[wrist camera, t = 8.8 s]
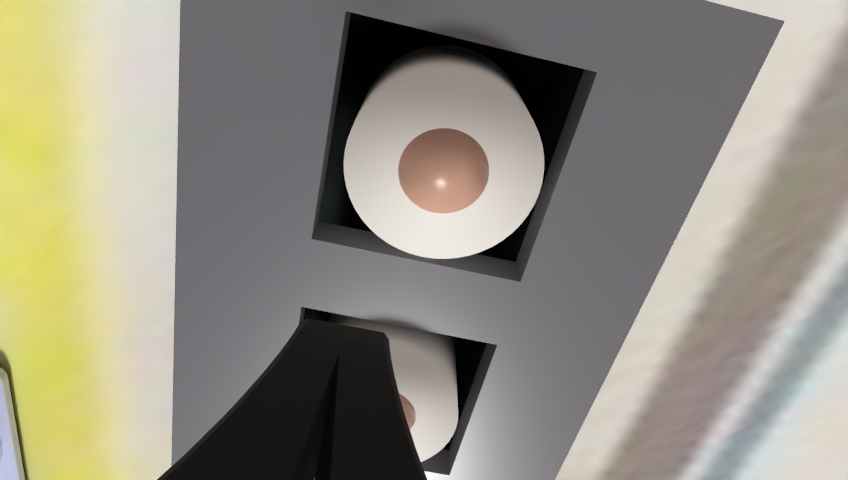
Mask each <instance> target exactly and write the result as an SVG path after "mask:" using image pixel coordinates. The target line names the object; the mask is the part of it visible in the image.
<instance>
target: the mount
mask: <svg viewBox="0 0 848 480" xmlns="http://www.w3.org/2000/svg"><path fill="white" fill-rule="evenodd" d="M351 12H352V13H356V14H360V15H364V16H368V17H372V18H376V19H380V20H384V21H389V22H393V23H397V24H401V25H405V26H409V27H413V28H417V29H421V30H426V31H430V32H434V33H438V34H442V35H446V36H450V37H454V38H458V39H463V40H467V41H471V42H475V43H479V44H483V45H487V46H491V47H495V48H500V49H504V50H508V51H512V52H516V53H520V54H524V55H528V56H532V57H536V58H541V59H545V60H549V61H553V62H557V63H561V64H565V65H569V66H573V67H578V68H582V69H584V71H583V74H582V76H581V79H580V82H579V85H578V88H577V90H576V93H575V96H574V99H573V102H572V105H571V107H570V110H569V113H568V116H567V119H566V121H565V124H564V127H563V130H562V133H561V136H560V138H559V141H558V144H557V147H556V150H555V152H554V155H553V158H552V161H551V164H550V167H549V169H548V172H547V175H546V178H545V181H544V183H543V186H542V189H541V192H540V195H539V198H538V200H537V203H536V206H535V209H534V212H533V214H532V217H531V220H530V223H529V226H528V229H527V231H526V234H525V237H524V240H523V243H522V245H521V248H520V251H519V254H518V257H517V259H516V262H513V261H508V260H503V259H498V258H493V257H489V256H484V255H479V254H473V255H470V256H465V257H460V258H451V259H433V258H426V257H421V256H417V255H413V254H409V253H407V252H404V251H402V250H399V249H397V248H395V247H394V246H392V245H390V244H388V243H387V242H385V241H384V240H382V239H381V238H380V237H378V236H377V235H376V234H375V233H374V232H369V231H364V230H359V229H354V228H350V227H345V226H340V225H335V224H331V223H326V222H321V221H319V217H320V211H321V204H322V198H323V191H324V185H325V178H326V172H327V165H328V159H329V152H330V146H331V139H332V133H333V126H334V120H335V113H336V107H337V101H338V94H339V88H340V81H341V75H342V68H343V62H344V55H345V49H346V42H347V36H348V29H349V23H350V16H351ZM783 23H784V21H781V20H778V19H774V18H770V17H766V16H762V15H758V14H755V13H751V12H747V11H743V10H739V9H735V8H732V7H728V6H724V5H720V4H716V3H712V2H708V1H705V0H181V4H180V56H179V108H178V161H177V213H176V265H175V317H174V370H173V422H172V466H173V465H174V464H175V463H176V462H177V461H178V460H179V459H180V458H181V457H183V456H184V455H185V454H186V453H187V452H188V451H189V450H190V449H191V448H192V447H193V446H194V445H195V444H196V443H197V442H198V441H199V440H200V439H201V438H202V437H203V436H204V435H205V434H206V433H207V432H208V431H209V430H210V429H211V428H212V427H213V426H214V425H215V424H216V423H217V422H218V421H219V420H220V419H221V418H222V417H223V416H224V415H225V414H226V413H227V412H228V411H229V410H230V409H231V408H232V407H233V406H234V405H235V404H236V402H237V401H238V400H239V399H240V398H241V397H242V396H243V395H244V393H245V392H246V391H247V390H248V389H249V388H250V387H251V386H252V385H253V383H254V382H255V381H256V380H257V379H258V378H259V377H260V376H261V374H262V373H263V372H264V371H265V370H266V368H267V367H268V366H269V365H270V364H271V362H272V361H273V360H274V359H275V357H276V356H277V355H278V354H279V352H280V351H281V350H282V348H283V347H284V346H285V344H286V343H287V342H288V340H289V339H290V337H291V336H292V335H293V333H294V332H295V330H296V328H297V327H298V325H299V323H300V322H302V321H304V314H305V308H310V309H315V310H320V311H325V312H330V313H336V314H341V315H346V316H351V317H356V318H361V319H366V320H372V321H377V322H382V323H387V324H392V325H397V326H402V327H408V328H413V329H418V330H423V331H428V332H433V333H438V334H444V335H449V336H454V337H459V338H464V339H469V340H474V341H480V342H485V343H487V344H486V347H485V350H484V352H483V355H482V358H481V361H480V364H479V367H478V369H477V372H476V375H475V378H474V381H473V383H472V386H471V389H470V392H469V395H468V398H467V400H466V403H465V406H464V409H463V412H462V414H461V417H460V420H459V423H458V426H457V429H456V431H455V434H454V437H453V440H452V443H451V445H450V448H449V450H445V449H442V450H440V451H439V452H438V453H437V454H435V455H434V456H432V457H431V458H429V459H427V460H425V461H423V462H421V464H422V467H423V470H424V472H425V475H426V477H427V480H555V478H556V476H557V474H558V472H559V470H560V468H561V466H562V464H563V462H564V460H565V458H566V456H567V454H568V452H569V450H570V448H571V446H572V444H573V442H574V440H575V438H576V436H577V434H578V432H579V430H580V428H581V426H582V424H583V422H584V420H585V418H586V416H587V414H588V412H589V410H590V408H591V406H592V404H593V402H594V400H595V398H596V396H597V394H598V392H599V390H600V388H601V386H602V384H603V382H604V380H605V378H606V376H607V374H608V372H609V370H610V368H611V366H612V364H613V362H614V360H615V358H616V356H617V354H618V352H619V350H620V348H621V346H622V344H623V342H624V340H625V338H626V336H627V335H628V333H629V331H630V329H631V327H632V325H633V323H634V321H635V319H636V317H637V315H638V313H639V311H640V309H641V307H642V305H643V303H644V301H645V299H646V297H647V295H648V293H649V291H650V289H651V287H652V285H653V283H654V281H655V279H656V277H657V275H658V273H659V271H660V269H661V267H662V265H663V263H664V261H665V259H666V257H667V255H668V253H669V251H670V249H671V247H672V245H673V243H674V241H675V239H676V237H677V235H678V233H679V231H680V229H681V227H682V225H683V223H684V221H685V219H686V217H687V215H688V213H689V211H690V209H691V207H692V205H693V203H694V201H695V199H696V197H697V195H698V193H699V191H700V189H701V187H702V185H703V183H704V181H705V179H706V177H707V175H708V173H709V171H710V169H711V167H712V165H713V163H714V161H715V159H716V157H717V155H718V153H719V151H720V149H721V147H722V145H723V143H724V141H725V139H726V137H727V135H728V133H729V131H730V129H731V127H732V125H733V123H734V121H735V119H736V117H737V115H738V113H739V111H740V109H741V107H742V105H743V103H744V101H745V99H746V97H747V95H748V93H749V91H750V89H751V87H752V85H753V83H754V81H755V79H756V77H757V75H758V73H759V71H760V69H761V67H762V65H763V63H764V61H765V59H766V57H767V55H768V53H769V51H770V49H771V47H772V45H773V43H774V41H775V39H776V37H777V35H778V33H779V31H780V29H781V27H782V25H783Z"/></svg>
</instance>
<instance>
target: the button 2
mask: <svg viewBox="0 0 848 480" xmlns="http://www.w3.org/2000/svg"><path fill="white" fill-rule="evenodd" d="M543 175H544V152H543V145H542V142H541V138H540V135H539V132H538V130H537V127H536V125H535V123H534V121H533V119H532V117H531V115H530V113H529V111H528V110H527V108H526V106H525V104H524V102H523V100H522V98H521V96H520V95H519V93H518V91H517V89H516V87H515V86H514V84H513V82H512V81H511V79H510V78H509V77H508V75H507V74H506V73H505V72H504V71H503V70H502V69H501V68H500V67H499V66H498V65H497V64H496V63H494V62H493V61H492V60H490V59H489V58H487V57H486V56H484V55H482V54H480V53H478V52H476V51H473V50H470V49H467V48H464V47H458V46H452V45H436V46H428V47H424V48H419V49H416V50H414V51H411V52H409V53H406V54H404V55H403V56H401V57H399V58H397V59H396V60H395V61H393V62H392V63H391V64H389V65H388V66H387V67H386V68H385V69H384V70H383V71H382V72H381V73H380V74H379V75H378V77H377V78H376V79H375V81H374V82H373V83H372V85H371V87H370V89H369V90H368V92H367V95H366V97H365V99H364V101H363V104H362V106H361V108H360V110H359V113H358V115H357V117H356V119H355V122H354V124H353V126H352V129H351V131H350V134H349V136H348V139H347V143H346V147H345V153H344V178H345V183H346V188H347V191H348V194H349V197H350V200H351V202H352V204H353V206H354V208H355V210H356V212H357V213H358V215H359V216H360V218H361V219H362V220H363V222H364V223H365V224H366V225H367V226H368V227H369V229H371V230H372V231H373V232H374V233H375V234H376V235H377V236H378V237H380V238H381V239H382V240H384V241H385V242H387V243H388V244H390V245H392V246H394V247H395V248H397V249H399V250H402V251H404V252H407V253H409V254H413V255H417V256H421V257H426V258H433V259H451V258H460V257H465V256H470V255H473V254H476V253H479V252H482V251H484V250H486V249H489V248H491V247H493V246H495V245H496V244H498V243H500V242H501V241H503V240H504V239H505V238H507V237H508V236H509V235H511V234H512V233H513V232H514V231H515V230H516V229H517V228H518V227H519V226H520V225H521V224H522V222H523V221H524V220H525V219H526V217H527V216H528V215H529V213H530V211H531V210H532V208H533V206H534V205H535V202H536V200H537V198H538V195H539V193H540V189H541V186H542V182H543Z"/></svg>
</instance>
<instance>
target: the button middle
mask: <svg viewBox="0 0 848 480" xmlns="http://www.w3.org/2000/svg"><path fill="white" fill-rule="evenodd" d="M326 322H331V323H336V324H342V325H347V326H352V327H358V328H363V329H369V330H374V331H379V332H384V333H385V335H386V336H387V337H388V339H389V345H390V354H391V360H392V366H393V370H394V375H395V380H396V384H397V388H398V392H399V396H400V399H401V403H402V407H403V410H404V413H405V417H406V420H407V423H408V426H409V429H410V432H411V435H412V438H413V441H414V445H415V448H416V450H417V453H418V456H419V459H420V462H423V461H425V460H427V459H429V458H431V457H432V456H434V455H435V454H437V453H438V452H439V451H440V450H442V449H443V448H444V447H445V446H446V444H447V443H448V442H449V441H450V439H451V438H452V436H453V434H454V432H455V430H456V427H457V423H458V396H457V375H456V354H455V340H454V336H449V335H444V334H438V333H433V332H428V331H423V330H418V329H413V328H408V327H402V326H397V325H392V324H387V323H382V322H377V321H372V320H366V319H361V318H356V317H351V316H346V315H341V314H336V313H332V314H331V315H330V317H329V318H328V320H327V321H326Z"/></svg>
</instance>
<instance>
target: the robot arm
mask: <svg viewBox="0 0 848 480" xmlns="http://www.w3.org/2000/svg"><path fill="white" fill-rule="evenodd" d="M0 480H25V477H24V471H23V465H22V459H21V453H20V446H19V440H18V434H17V428H16V422H15V416H14V410H13V404H12V398H11V392H10V386H9V380H8V376H7V373H6V372H5V371H4V370H3V369H2V368H0ZM157 480H427V477H426V475H425V472H424V470H423V467H422V464H421V462H420V459H419V456H418V453H417V450H416V448H415V445H414V441H413V438H412V435H411V432H410V429H409V426H408V423H407V420H406V417H405V413H404V410H403V407H402V403H401V399H400V396H399V392H398V388H397V384H396V380H395V375H394V370H393V366H392V360H391V354H390V345H389V339H388V337H387V336H386V335H385V333H384V332H379V331H374V330H369V329H363V328H358V327H352V326H347V325H342V324H336V323H331V322H326V321H320V320H315V319H310V318H307V319H306V320H304V321H302V322H300V323H299V325H298V327H297V328H296V330H295V332H294V333H293V335H292V336H291V337H290V339H289V340H288V342H287V343H286V344H285V346H284V347H283V348H282V350H281V351H280V352H279V354H278V355H277V356H276V357H275V359H274V360H273V361H272V362H271V364H270V365H269V366H268V367H267V368H266V370H265V371H264V372H263V373H262V374H261V376H260V377H259V378H258V379H257V380H256V381H255V382H254V383H253V385H252V386H251V387H250V388H249V389H248V390H247V391H246V392H245V393H244V395H243V396H242V397H241V398H240V399H239V400H238V401H237V402H236V404H235V405H234V406H233V407H232V408H231V409H230V410H229V411H228V412H227V413H226V414H225V415H224V416H223V417H222V418H221V419H220V420H219V421H218V422H217V423H216V424H215V425H214V426H213V427H212V428H211V429H210V430H209V431H208V432H207V433H206V434H205V435H204V436H203V437H202V438H201V439H200V440H199V441H198V442H197V443H196V444H195V445H194V446H193V447H192V448H191V449H190V450H189V451H188V452H187V453H186V454H185V455H184V456H183V457H181V458H180V459H179V460H178V461H177V462H176V463H175V464H174V465H173V466H172V467H171V468H170V469H168V470H167V471H166V472H165V473H164V474H163V475H162V476H161V477H160V478H158V479H157Z"/></svg>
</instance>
